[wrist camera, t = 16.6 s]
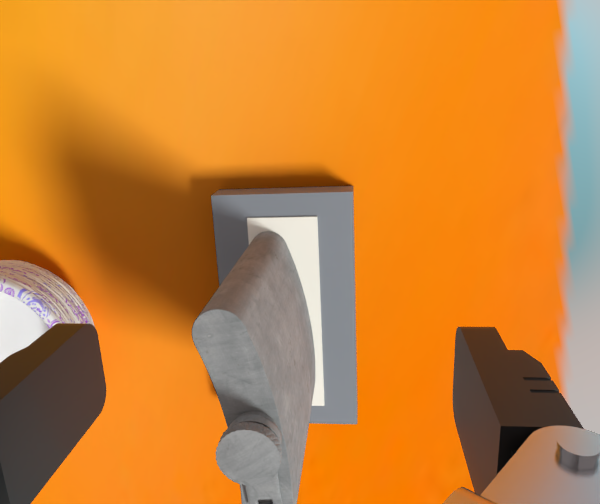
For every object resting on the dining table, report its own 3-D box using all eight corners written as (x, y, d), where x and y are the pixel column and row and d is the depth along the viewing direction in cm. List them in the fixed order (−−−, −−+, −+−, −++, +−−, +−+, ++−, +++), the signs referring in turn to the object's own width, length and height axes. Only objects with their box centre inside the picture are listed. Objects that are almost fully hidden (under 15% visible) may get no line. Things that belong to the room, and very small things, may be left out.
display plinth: (219, 189, 50) (210, 195, 47) (353, 185, 48) (352, 192, 45) (238, 404, 56) (231, 422, 53) (357, 406, 54) (357, 425, 51)
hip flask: (247, 234, 47) (170, 332, 28) (293, 226, 47) (246, 321, 27) (284, 397, 51) (240, 579, 32) (327, 391, 51) (308, 574, 32)
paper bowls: (-51, 339, 57) (-114, 377, 50) (2, 220, 53) (-58, 242, 45) (76, 414, 58) (34, 462, 51) (139, 303, 54) (103, 338, 46)
